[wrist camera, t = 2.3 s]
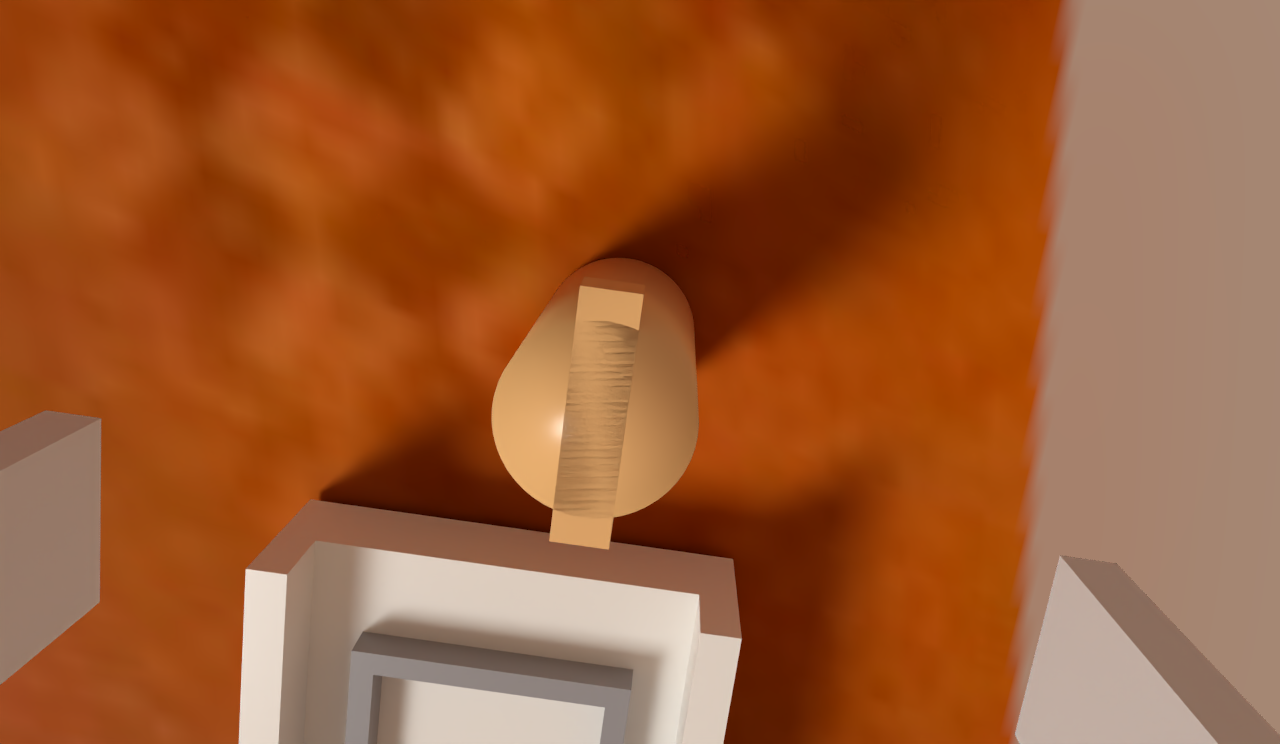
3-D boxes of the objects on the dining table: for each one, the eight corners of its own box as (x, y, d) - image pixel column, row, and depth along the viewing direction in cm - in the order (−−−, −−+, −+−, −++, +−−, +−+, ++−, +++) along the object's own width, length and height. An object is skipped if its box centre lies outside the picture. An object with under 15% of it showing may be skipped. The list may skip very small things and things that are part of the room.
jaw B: (555, 224, 27) (505, 275, 20) (708, 246, 27) (717, 304, 19) (534, 414, 29) (479, 531, 21) (679, 434, 29) (678, 559, 21)
